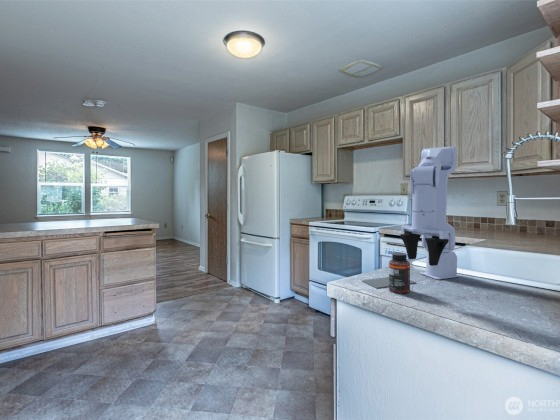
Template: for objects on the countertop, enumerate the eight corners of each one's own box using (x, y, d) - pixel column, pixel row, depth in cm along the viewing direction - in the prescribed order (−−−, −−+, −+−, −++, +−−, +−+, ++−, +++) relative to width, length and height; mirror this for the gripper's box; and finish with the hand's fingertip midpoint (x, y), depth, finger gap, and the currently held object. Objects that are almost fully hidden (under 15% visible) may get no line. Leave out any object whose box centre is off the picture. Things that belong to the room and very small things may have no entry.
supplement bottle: (406, 287, 96) (407, 251, 95) (412, 294, 90) (413, 255, 89) (386, 287, 97) (386, 251, 96) (391, 293, 91) (391, 255, 90)
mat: (398, 276, 108) (398, 275, 108) (415, 283, 100) (416, 282, 100) (361, 281, 103) (361, 280, 103) (376, 288, 96) (376, 287, 96)
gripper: (393, 210, 89) (392, 257, 89) (433, 213, 75) (431, 269, 76) (413, 209, 91) (412, 256, 92) (455, 213, 77) (454, 267, 78)
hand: (422, 262), depth 84 cm, fingers open, 7 cm apart
